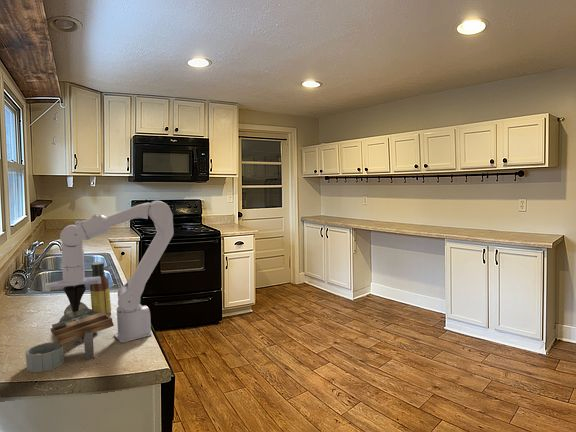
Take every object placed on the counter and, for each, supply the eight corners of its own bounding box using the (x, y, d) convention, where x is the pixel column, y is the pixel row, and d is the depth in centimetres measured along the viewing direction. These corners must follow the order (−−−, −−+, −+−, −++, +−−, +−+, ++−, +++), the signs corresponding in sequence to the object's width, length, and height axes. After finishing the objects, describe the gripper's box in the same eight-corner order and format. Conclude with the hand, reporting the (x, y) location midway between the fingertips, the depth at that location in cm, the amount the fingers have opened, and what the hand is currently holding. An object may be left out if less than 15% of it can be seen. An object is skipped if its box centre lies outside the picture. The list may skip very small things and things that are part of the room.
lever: (101, 315, 123) (100, 308, 123) (114, 326, 113) (112, 319, 113) (50, 331, 114) (49, 324, 114) (59, 345, 105) (57, 337, 104)
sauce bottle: (106, 312, 147) (103, 260, 145) (114, 316, 143) (112, 262, 142) (88, 317, 142) (85, 263, 140) (96, 321, 138) (93, 265, 136)
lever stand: (80, 341, 121) (79, 317, 120) (94, 359, 109) (92, 332, 108) (73, 343, 120) (71, 318, 119) (86, 361, 108) (84, 334, 107)
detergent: (105, 334, 127) (98, 310, 148) (102, 313, 126) (95, 292, 147) (58, 346, 120) (57, 320, 142) (55, 324, 119) (54, 301, 140)
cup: (59, 355, 112) (58, 339, 111) (65, 365, 105) (64, 349, 105) (25, 364, 106) (24, 347, 106) (29, 375, 100) (28, 358, 100)
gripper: (96, 260, 124) (97, 302, 126) (42, 266, 115) (44, 312, 116) (102, 264, 119) (103, 308, 120) (46, 270, 110) (48, 318, 111)
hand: (75, 310), depth 118 cm, fingers closed
